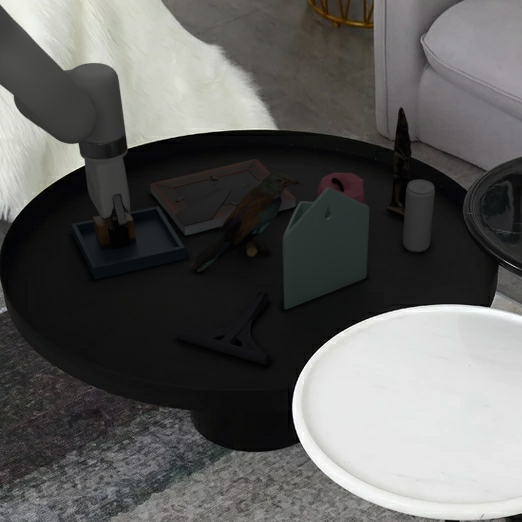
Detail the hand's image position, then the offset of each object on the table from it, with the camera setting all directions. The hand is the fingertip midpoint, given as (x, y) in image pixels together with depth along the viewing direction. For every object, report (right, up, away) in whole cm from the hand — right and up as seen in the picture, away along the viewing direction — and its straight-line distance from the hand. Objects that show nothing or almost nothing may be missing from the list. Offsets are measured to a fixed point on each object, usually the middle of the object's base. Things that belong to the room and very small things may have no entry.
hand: (117, 239), depth 171 cm
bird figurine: (+23, -3, +1) cm, 23 cm away
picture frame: (+16, +9, +13) cm, 23 cm away
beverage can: (+52, -1, +5) cm, 52 cm away
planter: (+34, -8, -5) cm, 35 cm away
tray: (+2, -1, 0) cm, 2 cm away
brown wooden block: (0, 0, 0) cm, 0 cm away
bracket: (+24, -16, -15) cm, 32 cm away
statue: (+50, +6, +13) cm, 52 cm away
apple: (+38, +4, +10) cm, 39 cm away
